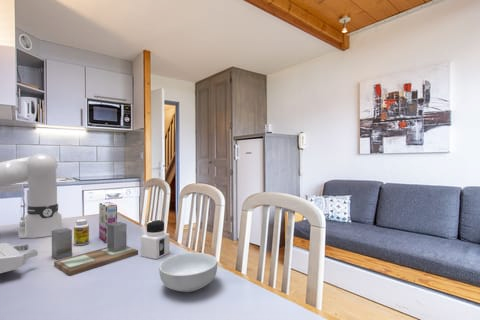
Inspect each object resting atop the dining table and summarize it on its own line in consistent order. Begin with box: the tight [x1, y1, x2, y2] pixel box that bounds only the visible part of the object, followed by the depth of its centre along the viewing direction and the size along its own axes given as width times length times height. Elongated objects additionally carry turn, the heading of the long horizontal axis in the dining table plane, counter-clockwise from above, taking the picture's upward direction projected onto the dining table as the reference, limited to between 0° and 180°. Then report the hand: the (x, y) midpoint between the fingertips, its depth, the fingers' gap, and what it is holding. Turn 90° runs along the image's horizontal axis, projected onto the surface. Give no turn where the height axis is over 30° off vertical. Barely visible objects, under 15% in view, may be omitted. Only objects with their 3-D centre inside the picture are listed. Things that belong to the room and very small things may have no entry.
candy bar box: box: [98, 201, 118, 244], centre depth 122 cm, size 11×5×16 cm, turn 42°
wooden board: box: [53, 245, 139, 277], centre depth 99 cm, size 13×24×2 cm, turn 143°
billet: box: [106, 221, 128, 253], centre depth 104 cm, size 5×5×10 cm
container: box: [140, 219, 171, 260], centre depth 104 cm, size 8×8×13 cm
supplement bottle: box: [73, 218, 90, 246], centre depth 116 cm, size 6×6×10 cm
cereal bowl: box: [158, 252, 218, 293], centre depth 79 cm, size 17×17×7 cm
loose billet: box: [51, 227, 73, 261], centre depth 102 cm, size 5×5×10 cm
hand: (32, 249), depth 94 cm, fingers open, 8 cm apart
